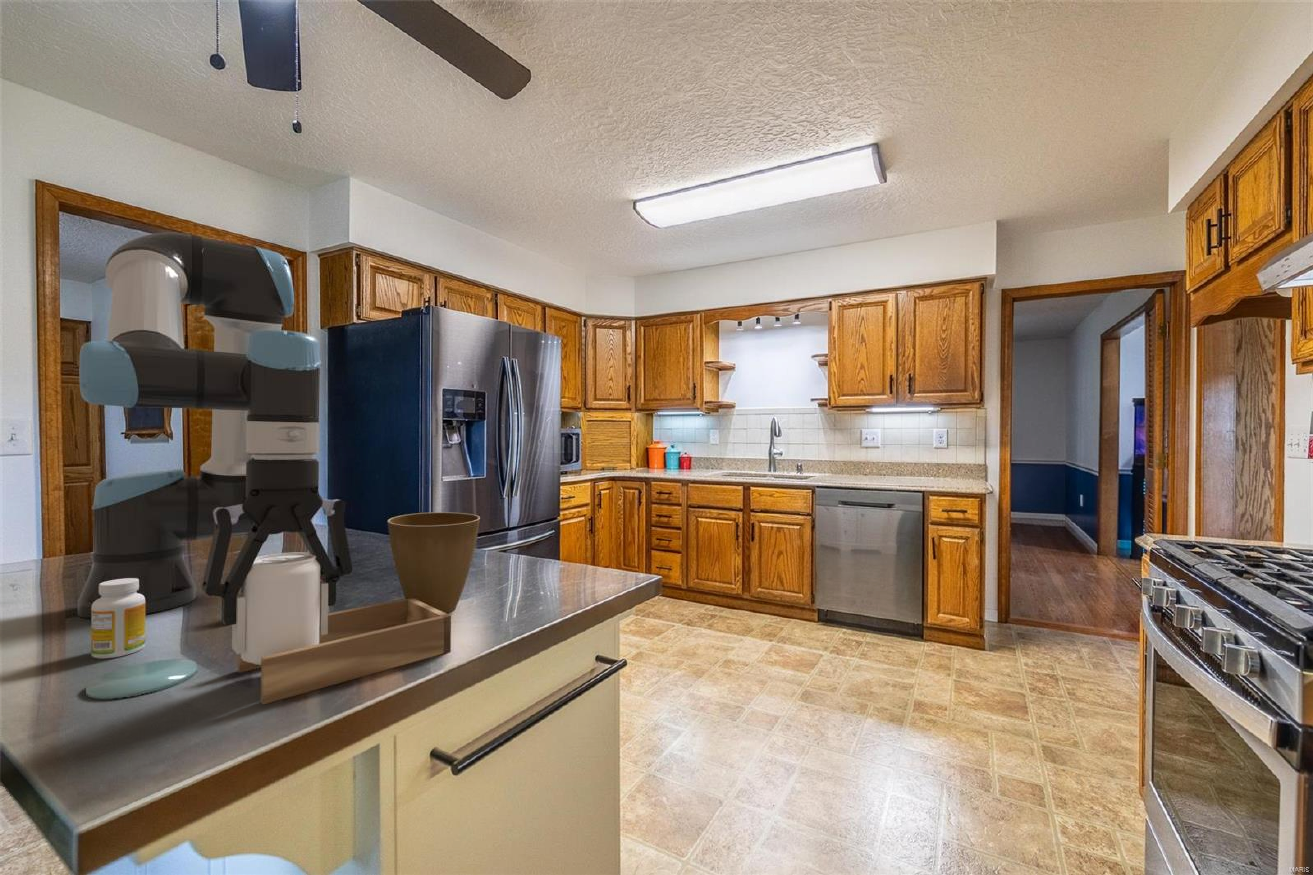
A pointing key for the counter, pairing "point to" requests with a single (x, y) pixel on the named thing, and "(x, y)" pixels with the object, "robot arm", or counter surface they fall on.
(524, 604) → the counter surface
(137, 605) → the supplement bottle
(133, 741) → the counter surface
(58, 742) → the counter surface
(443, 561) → the plant pot
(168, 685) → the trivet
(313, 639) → the beverage can
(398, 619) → the brown wooden rectangular tray
